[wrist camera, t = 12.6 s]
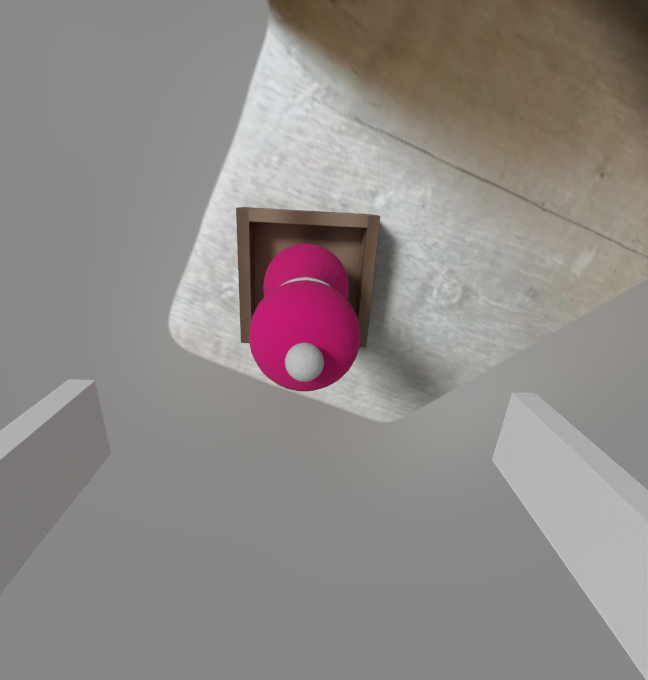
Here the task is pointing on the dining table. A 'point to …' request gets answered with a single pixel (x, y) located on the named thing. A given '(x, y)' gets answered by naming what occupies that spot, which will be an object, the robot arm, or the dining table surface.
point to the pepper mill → (305, 320)
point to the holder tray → (305, 228)
